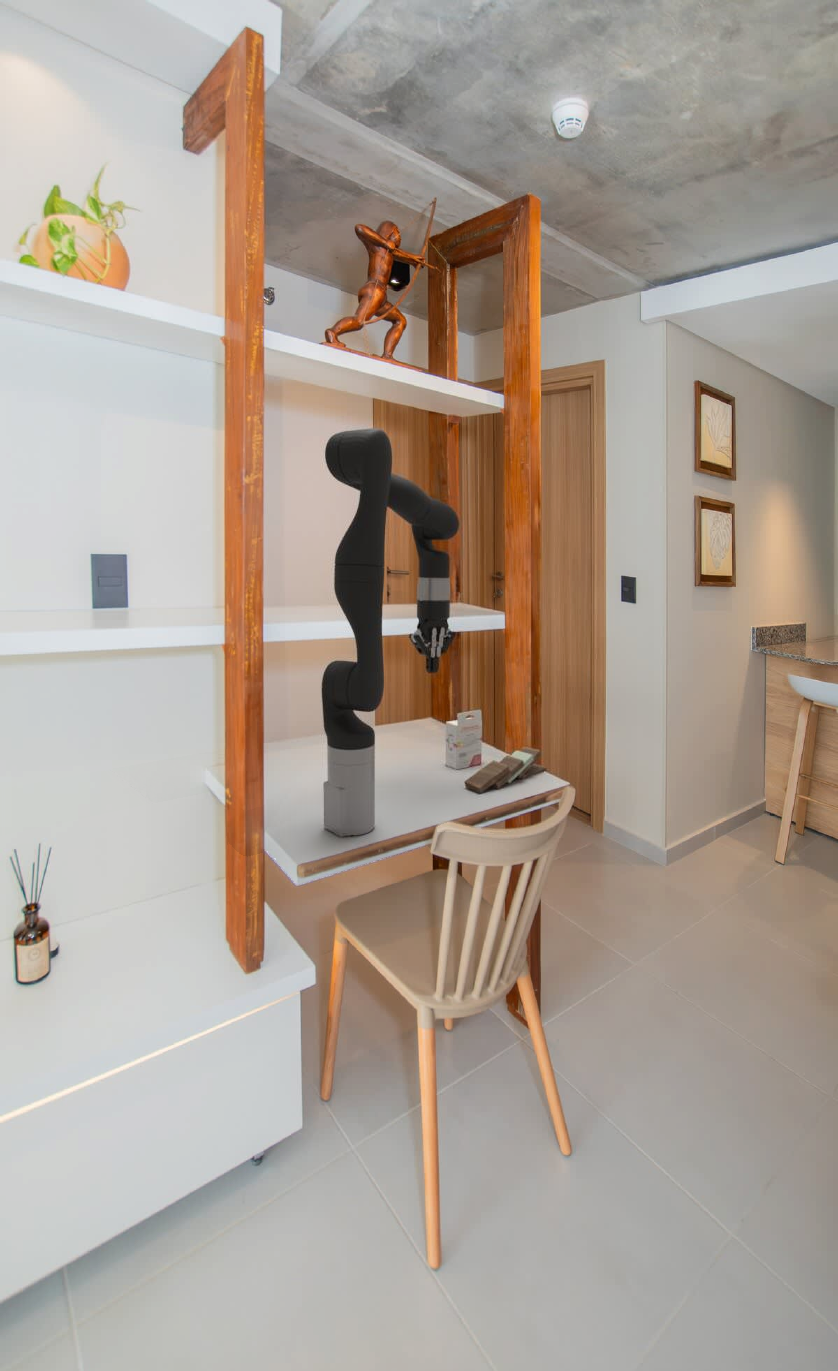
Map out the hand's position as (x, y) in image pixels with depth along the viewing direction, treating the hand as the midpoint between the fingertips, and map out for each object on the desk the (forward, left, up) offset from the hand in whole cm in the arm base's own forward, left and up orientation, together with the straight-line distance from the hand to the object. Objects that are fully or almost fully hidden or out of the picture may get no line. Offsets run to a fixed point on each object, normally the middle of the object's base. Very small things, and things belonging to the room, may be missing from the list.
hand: (432, 672), depth 154 cm
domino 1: (+3, -11, -26) cm, 28 cm away
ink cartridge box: (+16, +4, -27) cm, 31 cm away
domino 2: (+8, -12, -26) cm, 29 cm away
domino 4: (+19, -10, -27) cm, 34 cm away
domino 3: (+17, -10, -26) cm, 32 cm away
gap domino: (+13, -11, -26) cm, 31 cm away
